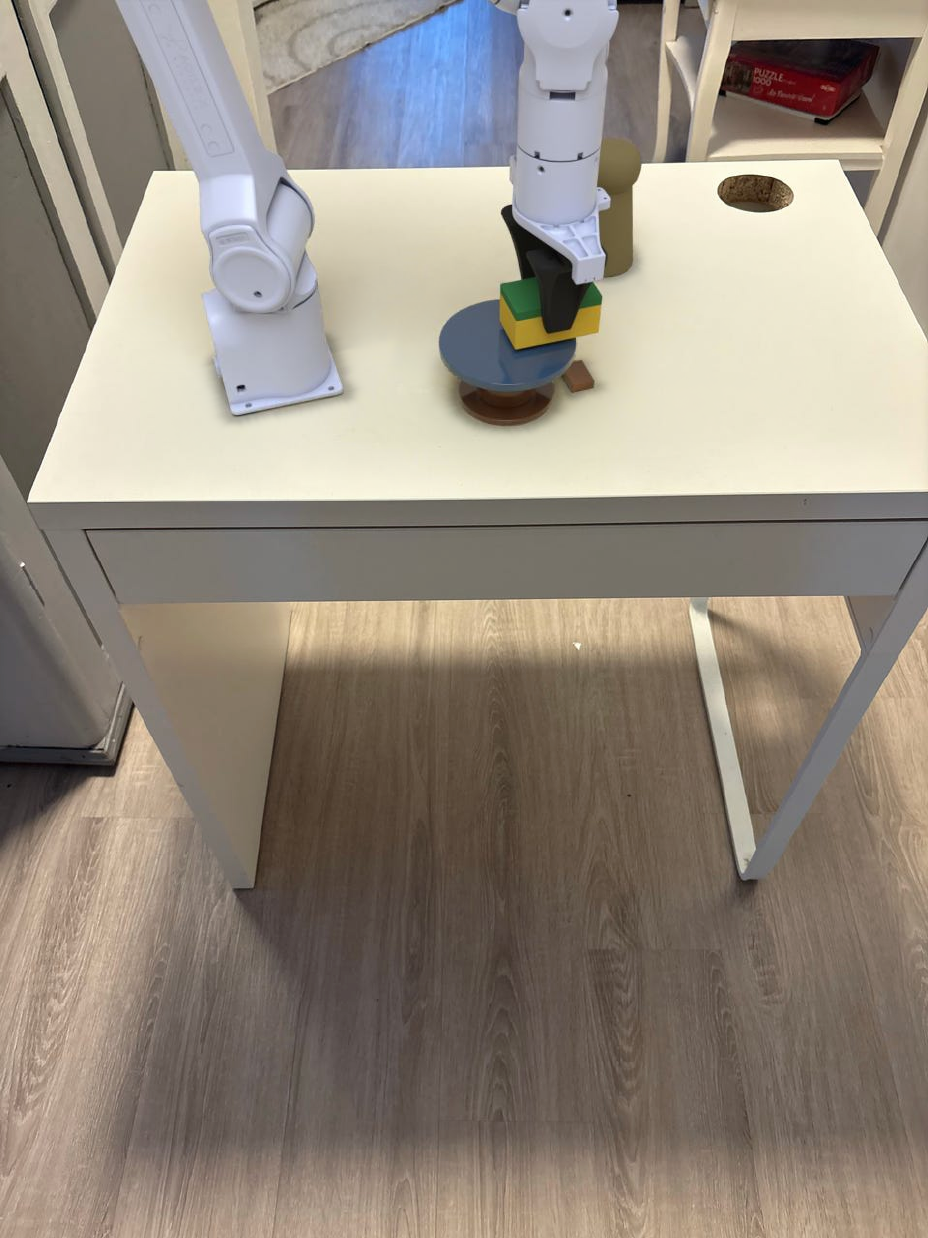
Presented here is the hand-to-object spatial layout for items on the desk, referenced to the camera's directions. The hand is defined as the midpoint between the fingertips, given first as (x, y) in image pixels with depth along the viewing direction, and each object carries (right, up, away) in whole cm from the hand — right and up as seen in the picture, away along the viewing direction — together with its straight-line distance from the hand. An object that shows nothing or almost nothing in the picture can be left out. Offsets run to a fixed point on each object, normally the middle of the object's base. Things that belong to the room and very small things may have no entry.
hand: (548, 312), depth 77 cm
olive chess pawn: (+7, +10, +17) cm, 21 cm away
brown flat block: (+3, -3, +6) cm, 7 cm away
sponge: (0, -1, +1) cm, 1 cm away
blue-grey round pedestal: (-3, -5, +5) cm, 8 cm away
